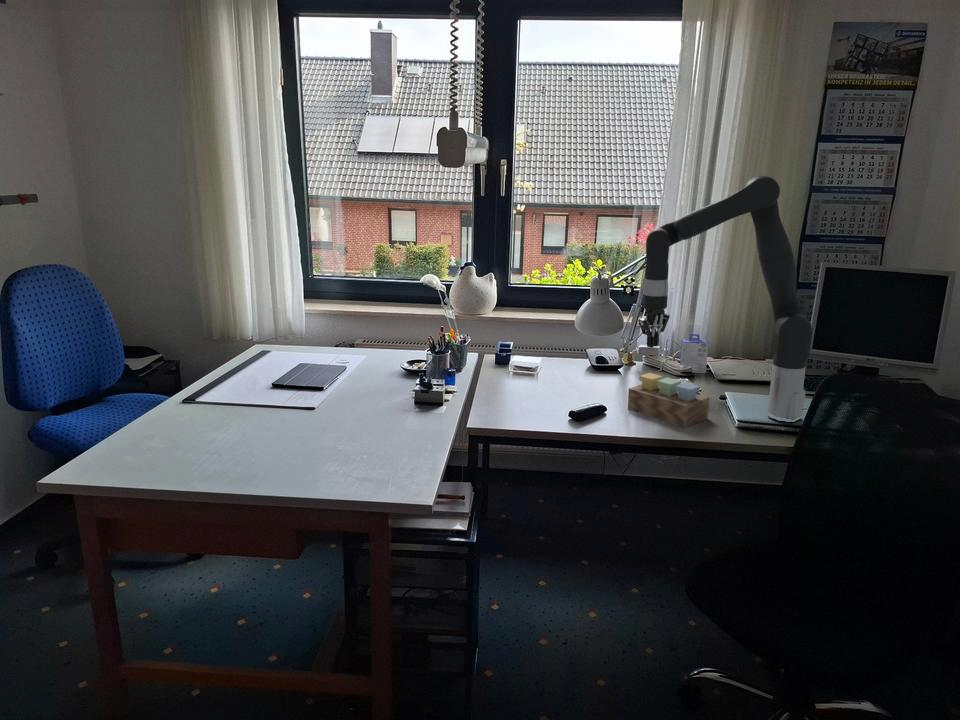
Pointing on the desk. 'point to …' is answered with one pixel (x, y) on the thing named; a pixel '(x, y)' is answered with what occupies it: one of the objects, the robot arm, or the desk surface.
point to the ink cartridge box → (694, 354)
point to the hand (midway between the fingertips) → (652, 346)
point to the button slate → (687, 391)
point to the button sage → (668, 386)
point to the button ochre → (650, 381)
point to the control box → (668, 406)
